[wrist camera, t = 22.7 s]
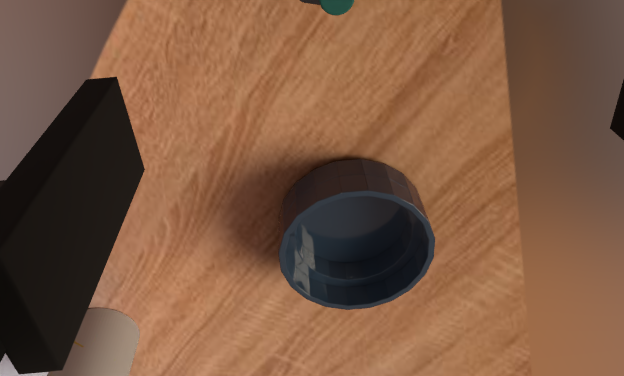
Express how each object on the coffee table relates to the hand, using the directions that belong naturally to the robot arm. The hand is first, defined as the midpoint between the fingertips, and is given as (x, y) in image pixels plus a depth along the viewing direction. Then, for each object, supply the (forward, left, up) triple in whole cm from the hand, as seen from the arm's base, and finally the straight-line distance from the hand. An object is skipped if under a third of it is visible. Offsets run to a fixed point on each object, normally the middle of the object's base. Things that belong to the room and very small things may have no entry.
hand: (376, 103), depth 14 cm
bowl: (-2, +28, -31) cm, 41 cm away
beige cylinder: (+28, +42, -31) cm, 59 cm away
